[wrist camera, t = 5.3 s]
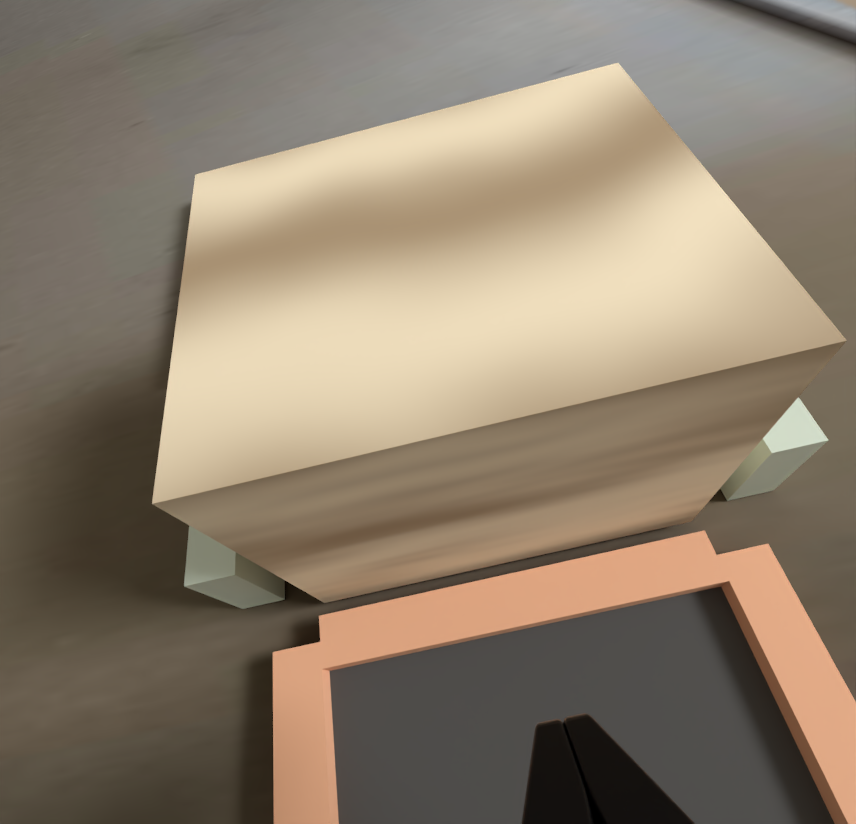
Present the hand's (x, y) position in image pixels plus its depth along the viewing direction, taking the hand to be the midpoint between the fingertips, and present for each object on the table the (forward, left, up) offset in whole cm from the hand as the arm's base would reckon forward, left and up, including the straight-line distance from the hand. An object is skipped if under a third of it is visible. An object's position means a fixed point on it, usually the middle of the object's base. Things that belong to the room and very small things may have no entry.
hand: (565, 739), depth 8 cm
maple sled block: (+5, +8, -7) cm, 12 cm away
